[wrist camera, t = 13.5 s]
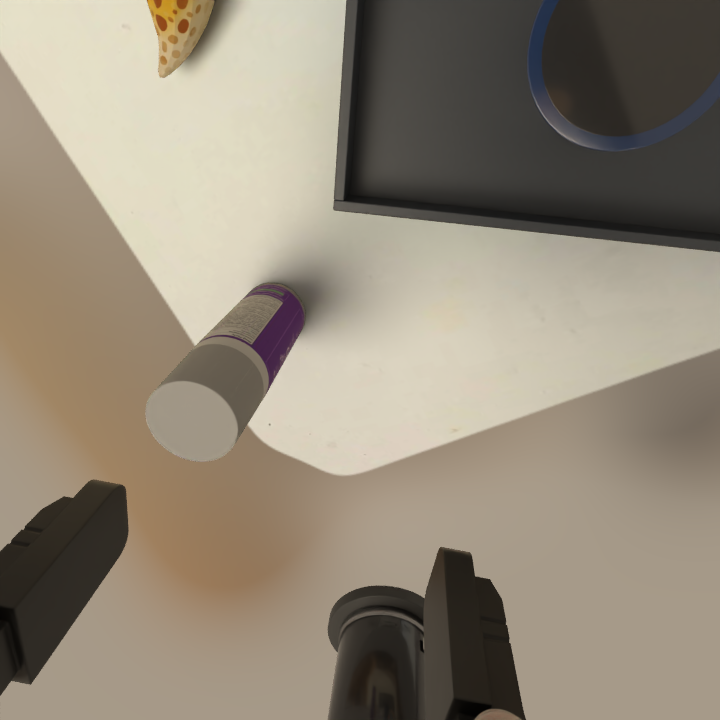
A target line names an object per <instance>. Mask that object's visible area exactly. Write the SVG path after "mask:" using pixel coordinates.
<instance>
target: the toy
mask: <svg viewBox="0 0 720 720" xmlns="http://www.w3.org/2000/svg"><path fill="white" fill-rule="evenodd" d="M214 1H215V0H147V2H148V6H149V9H150V12H151V15H152V19H153V22H154V25H155V28H156V31H157V35H158V40H159V68H158V72H159V76H160V77H162V78H165V77H166V76H168V75H170V74H171V73H172V72H173V71H174V70H176V69H177V68H178V67H179V66H180V65H181V64H182V63H183V62H184V61H185V60H186V58H187V57H188V56H189V54H190V53H191V51H192V50H193V49H194V47H195V46H196V44H197V42H198V41H199V39H200V37H201V35H202V33H203V31H204V29H205V27H206V25H207V23H208V20H209V17H210V14H211V12H212V9H213V6H214Z"/></svg>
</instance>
